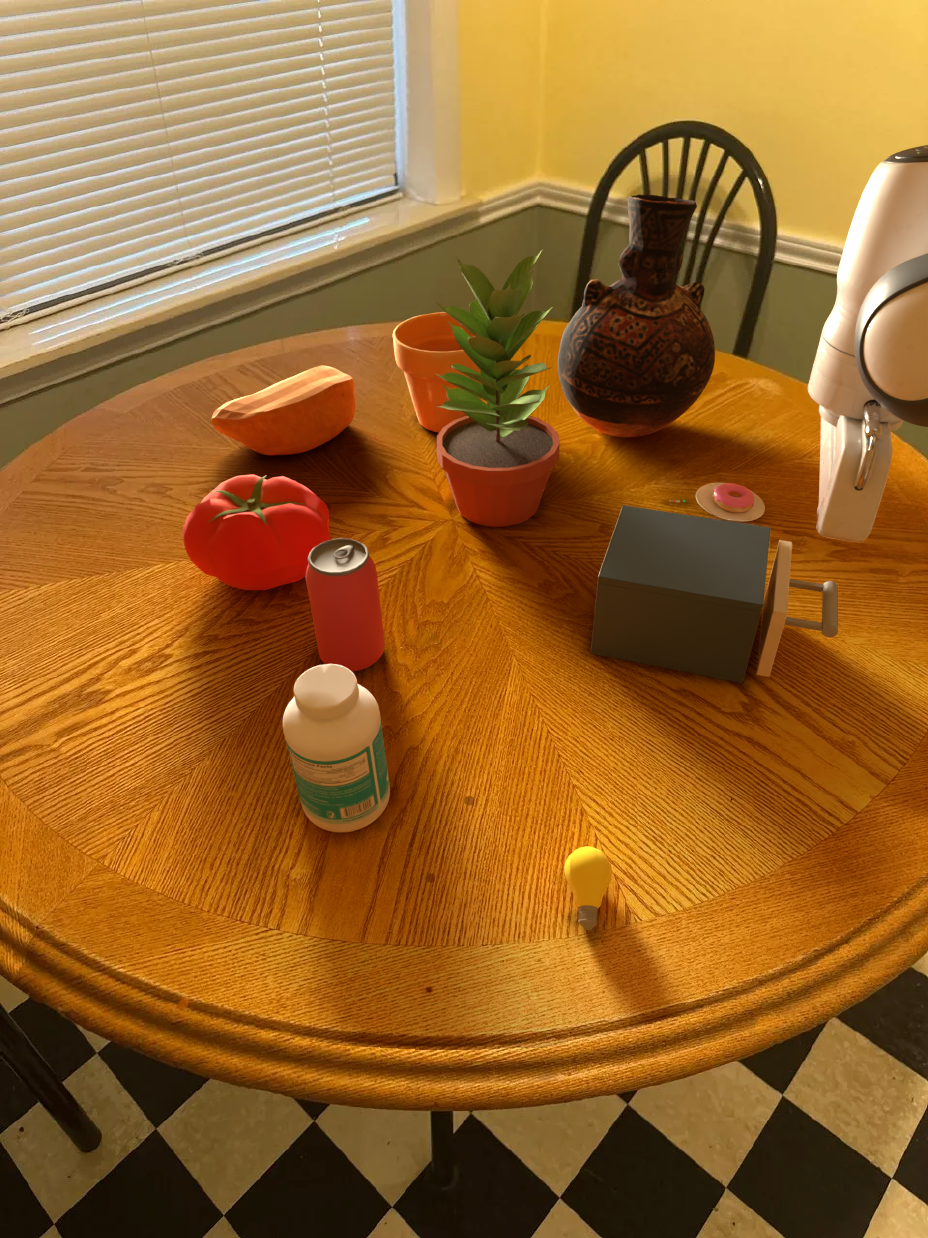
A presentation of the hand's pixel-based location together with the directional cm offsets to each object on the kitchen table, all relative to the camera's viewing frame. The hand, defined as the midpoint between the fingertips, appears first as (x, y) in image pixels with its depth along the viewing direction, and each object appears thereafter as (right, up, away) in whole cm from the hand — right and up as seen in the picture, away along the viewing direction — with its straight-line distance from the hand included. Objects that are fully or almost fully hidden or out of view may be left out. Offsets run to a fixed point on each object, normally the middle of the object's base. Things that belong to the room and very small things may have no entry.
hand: (826, 525), depth 76 cm
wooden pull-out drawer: (-5, -9, +10) cm, 15 cm away
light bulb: (-23, -29, -11) cm, 39 cm away
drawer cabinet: (-10, -9, +12) cm, 18 cm away
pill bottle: (-42, -24, -4) cm, 48 cm away
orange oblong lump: (-56, +17, +46) cm, 75 cm away
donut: (-1, +5, +29) cm, 30 cm away
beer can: (-43, -12, +11) cm, 46 cm away
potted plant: (-28, +6, +31) cm, 42 cm away
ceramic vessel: (-9, +19, +46) cm, 50 cm away
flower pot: (-34, +20, +48) cm, 63 cm away
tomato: (-54, -3, +22) cm, 58 cm away
